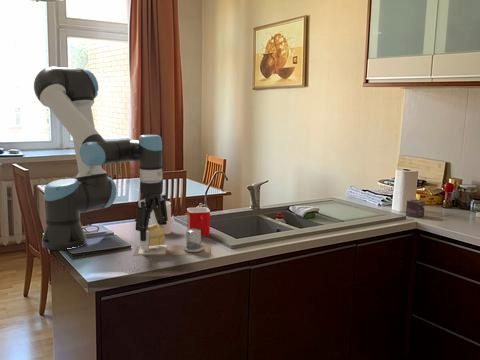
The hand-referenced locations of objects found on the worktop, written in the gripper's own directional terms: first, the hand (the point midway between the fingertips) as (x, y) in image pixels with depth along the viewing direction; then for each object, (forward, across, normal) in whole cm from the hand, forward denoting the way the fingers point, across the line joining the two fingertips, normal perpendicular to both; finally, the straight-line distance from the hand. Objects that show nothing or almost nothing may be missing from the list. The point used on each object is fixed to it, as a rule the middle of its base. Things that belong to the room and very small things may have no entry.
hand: (152, 245), depth 164 cm
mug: (+3, +22, +12) cm, 25 cm away
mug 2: (+3, +24, -5) cm, 24 cm away
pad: (+2, 0, 0) cm, 2 cm away
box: (+3, +100, -76) cm, 126 cm away
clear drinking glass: (+2, +7, -12) cm, 14 cm away
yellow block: (-1, 0, 0) cm, 1 cm away
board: (+3, +4, -6) cm, 8 cm away
